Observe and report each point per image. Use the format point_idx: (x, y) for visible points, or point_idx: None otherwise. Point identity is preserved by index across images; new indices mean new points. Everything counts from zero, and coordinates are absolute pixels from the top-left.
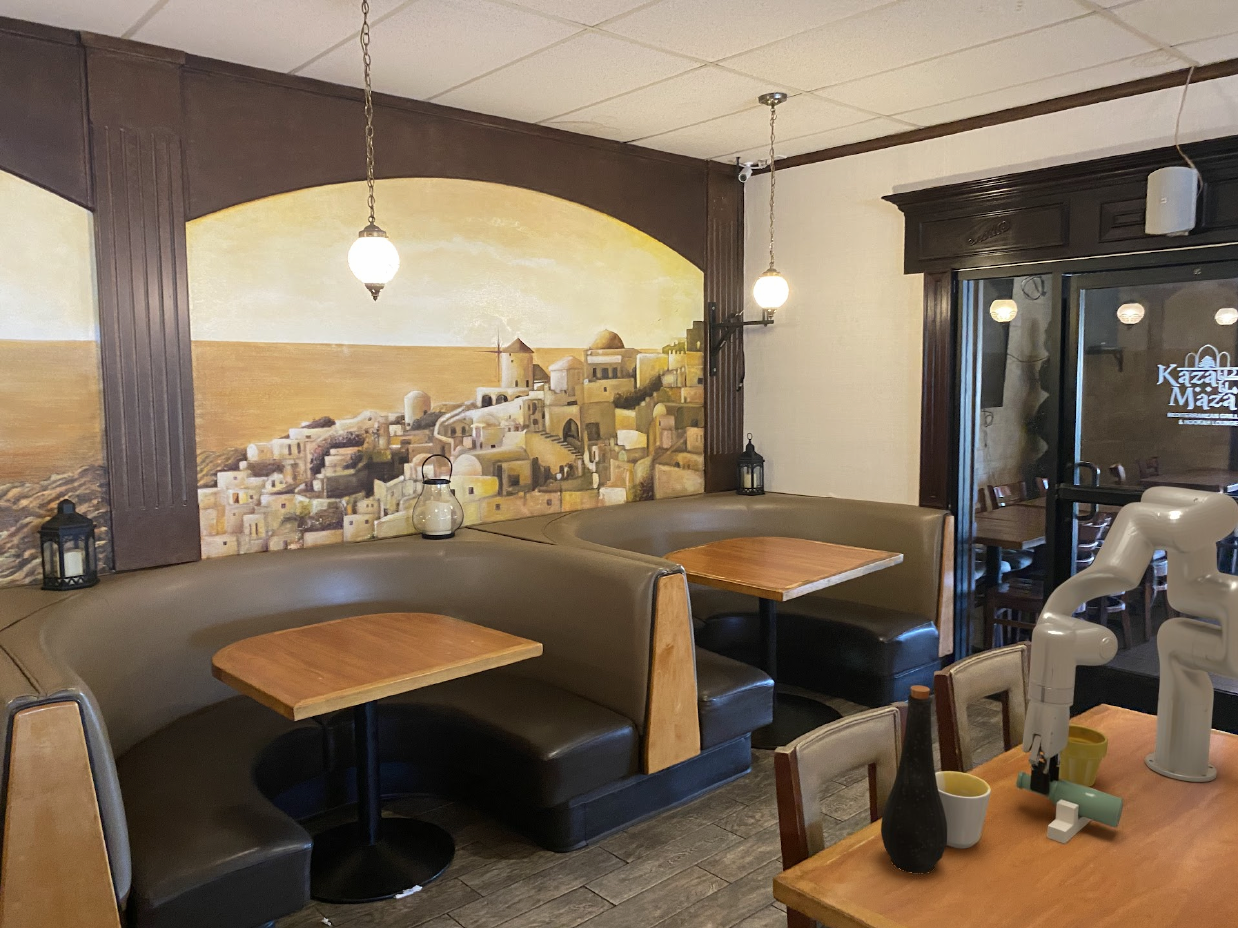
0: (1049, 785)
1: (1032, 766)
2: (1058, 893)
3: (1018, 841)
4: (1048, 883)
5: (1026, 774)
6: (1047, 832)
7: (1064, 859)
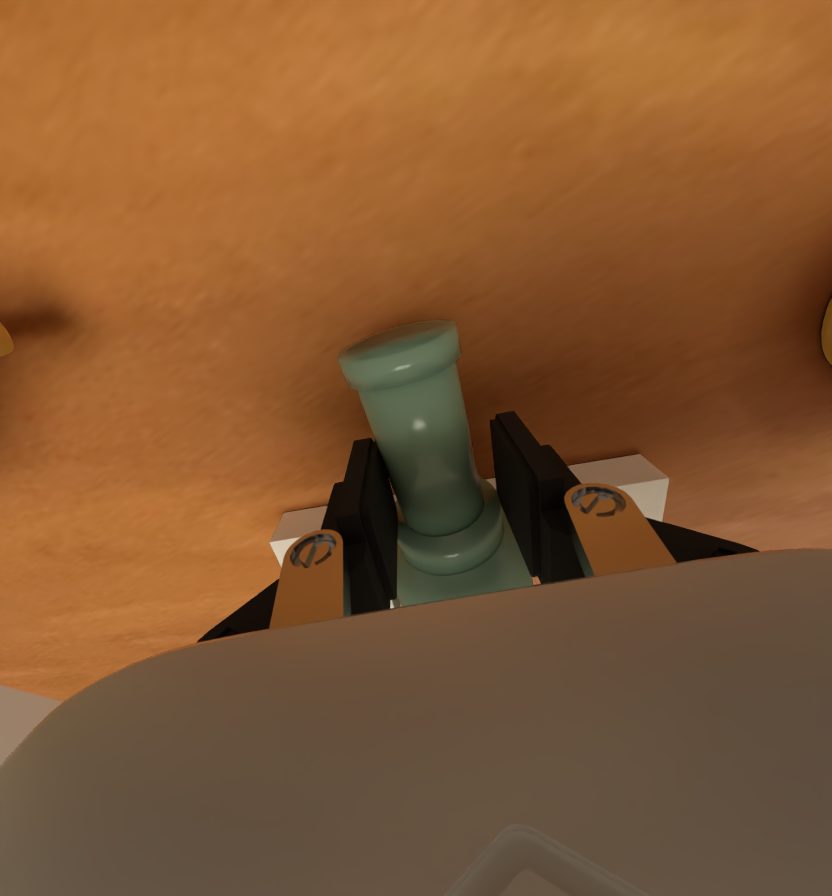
0: (418, 527)
1: (240, 610)
2: (83, 652)
3: (165, 481)
4: (88, 627)
5: (406, 399)
6: (278, 524)
7: (226, 593)
